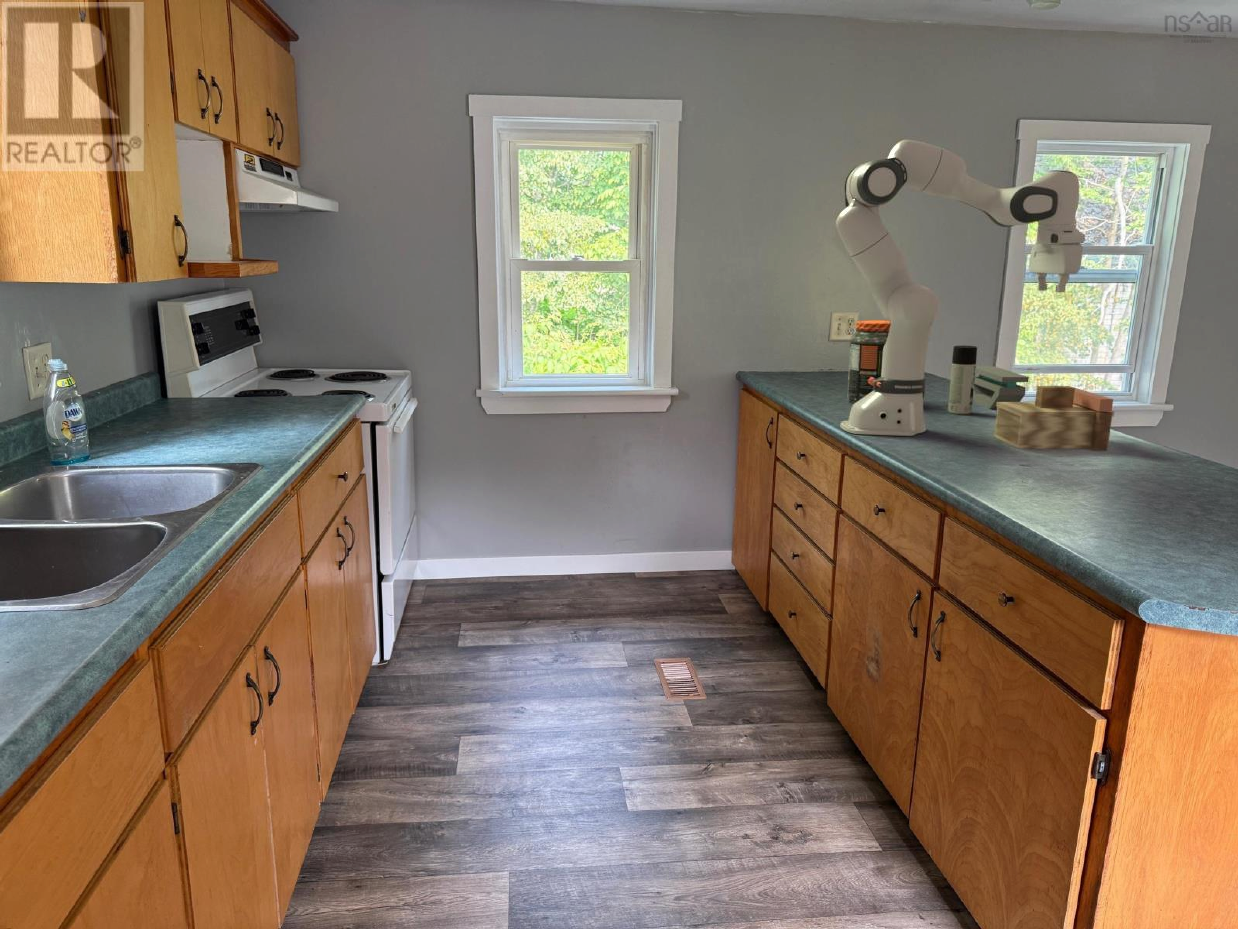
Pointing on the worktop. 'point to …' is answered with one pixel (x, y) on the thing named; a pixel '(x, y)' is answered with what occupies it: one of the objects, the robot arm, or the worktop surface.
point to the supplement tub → (866, 356)
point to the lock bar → (1092, 400)
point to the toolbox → (1053, 431)
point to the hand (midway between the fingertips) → (1050, 291)
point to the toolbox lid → (1050, 404)
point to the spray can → (962, 379)
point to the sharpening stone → (997, 386)
